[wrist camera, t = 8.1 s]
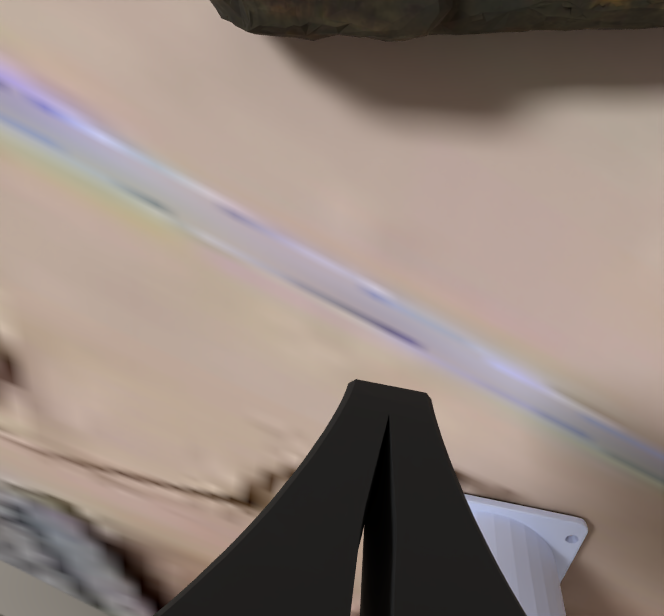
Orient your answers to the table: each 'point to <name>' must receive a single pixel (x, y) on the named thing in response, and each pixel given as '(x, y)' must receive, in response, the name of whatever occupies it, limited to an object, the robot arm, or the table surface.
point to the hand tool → (433, 16)
